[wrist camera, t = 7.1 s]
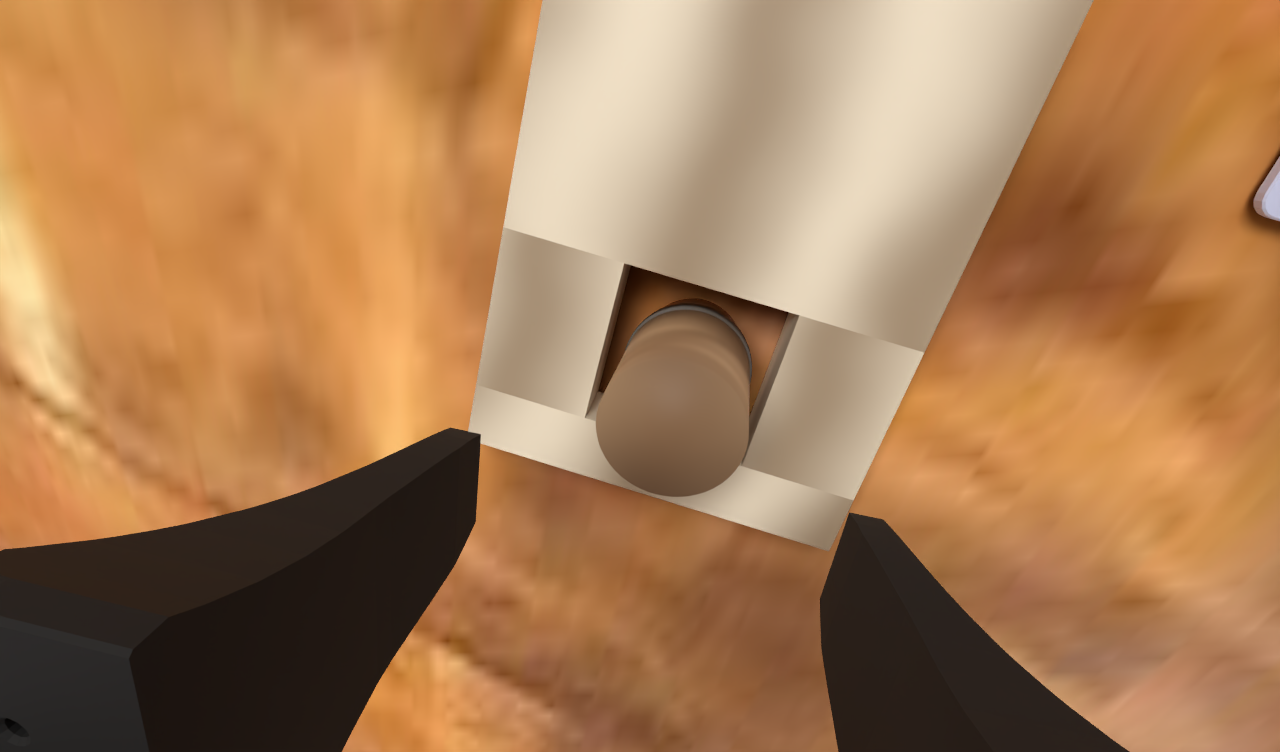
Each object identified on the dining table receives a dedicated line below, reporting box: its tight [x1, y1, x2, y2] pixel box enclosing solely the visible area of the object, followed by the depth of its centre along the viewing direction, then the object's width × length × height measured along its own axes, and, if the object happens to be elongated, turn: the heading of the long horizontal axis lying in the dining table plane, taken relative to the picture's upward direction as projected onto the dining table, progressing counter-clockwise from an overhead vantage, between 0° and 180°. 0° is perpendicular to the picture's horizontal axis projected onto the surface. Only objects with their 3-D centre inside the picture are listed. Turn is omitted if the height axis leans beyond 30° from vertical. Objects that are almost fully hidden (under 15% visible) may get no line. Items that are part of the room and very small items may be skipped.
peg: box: [596, 299, 752, 497], centre depth 18 cm, size 4×4×6 cm
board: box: [468, 0, 1093, 551], centre depth 19 cm, size 12×16×2 cm
